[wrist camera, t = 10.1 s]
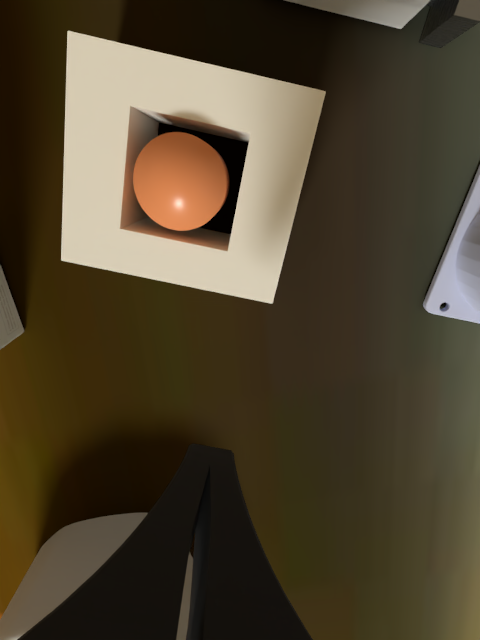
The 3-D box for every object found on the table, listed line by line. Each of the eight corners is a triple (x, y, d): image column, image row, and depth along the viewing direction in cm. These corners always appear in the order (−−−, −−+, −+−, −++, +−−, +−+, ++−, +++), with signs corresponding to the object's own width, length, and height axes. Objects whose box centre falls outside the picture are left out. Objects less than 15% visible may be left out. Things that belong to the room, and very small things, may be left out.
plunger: (238, 151, 18) (233, 143, 13) (224, 223, 19) (216, 238, 14) (167, 136, 17) (138, 122, 13) (158, 209, 19) (128, 220, 14)
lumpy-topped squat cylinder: (213, 597, 30) (200, 753, 22) (67, 619, 31) (4, 773, 23) (171, 502, 26) (136, 647, 18) (8, 533, 28) (-90, 679, 20)
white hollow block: (307, 111, 17) (325, 91, 13) (267, 276, 20) (272, 303, 16) (113, 66, 17) (67, 30, 12) (101, 242, 20) (61, 260, 15)
